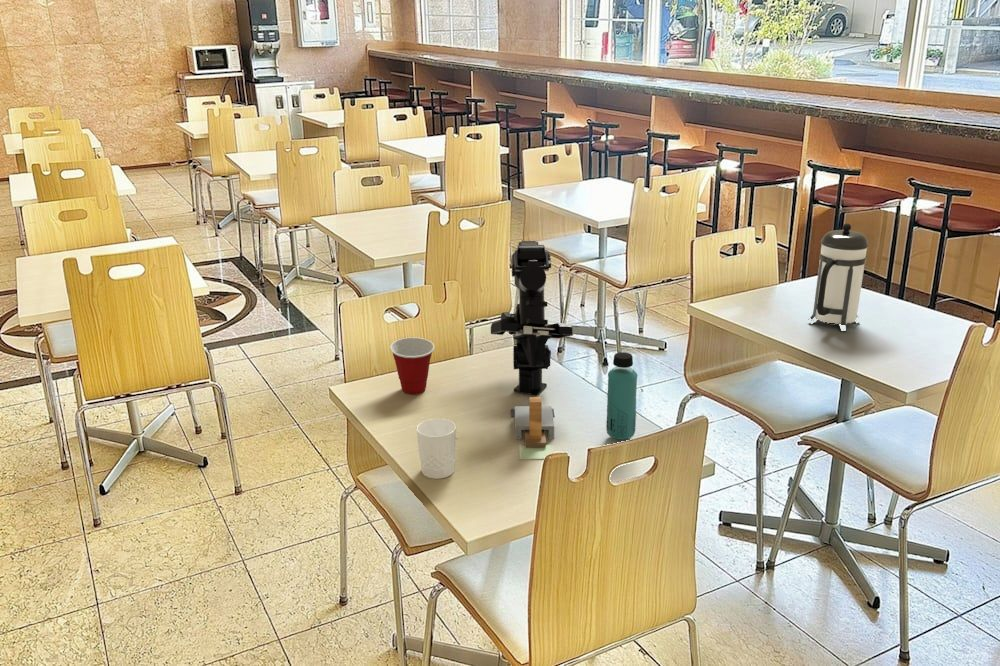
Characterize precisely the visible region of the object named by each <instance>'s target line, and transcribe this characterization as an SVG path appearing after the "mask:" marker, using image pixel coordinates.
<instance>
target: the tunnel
mask: <svg viewBox="0 0 1000 666" xmlns="http://www.w3.org/2000/svg"><path fill="white" fill-rule="evenodd" d="M514 409H515V418H514V428H515V429H514V430H515V431H514V432H515V440H522V431H524V430H529V405H525V406H524V405H522V406H521V405H520V406H519V405H518V406H517V405H516V406H514ZM552 409H553V408H552V405H542V426H541V430H545V431H546V430H547V437H548V440H549V439H550V440H554V439H555V420H554V417H553V413H552Z"/></svg>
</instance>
